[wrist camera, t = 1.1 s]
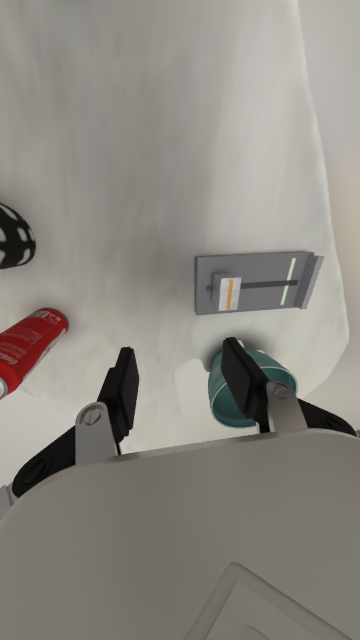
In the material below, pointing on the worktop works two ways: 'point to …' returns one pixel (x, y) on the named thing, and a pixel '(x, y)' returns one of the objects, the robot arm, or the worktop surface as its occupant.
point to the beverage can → (28, 346)
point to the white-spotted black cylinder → (14, 239)
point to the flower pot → (222, 398)
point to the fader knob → (225, 291)
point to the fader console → (259, 280)
